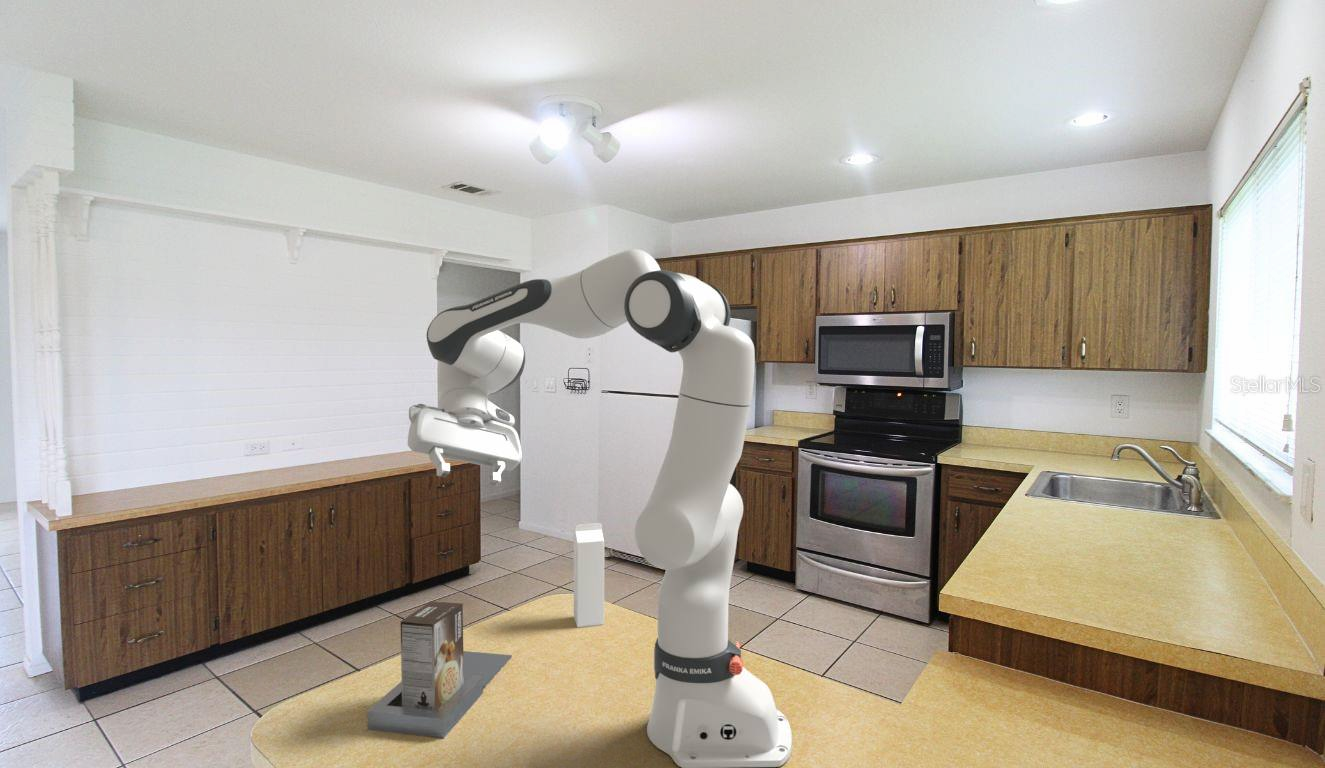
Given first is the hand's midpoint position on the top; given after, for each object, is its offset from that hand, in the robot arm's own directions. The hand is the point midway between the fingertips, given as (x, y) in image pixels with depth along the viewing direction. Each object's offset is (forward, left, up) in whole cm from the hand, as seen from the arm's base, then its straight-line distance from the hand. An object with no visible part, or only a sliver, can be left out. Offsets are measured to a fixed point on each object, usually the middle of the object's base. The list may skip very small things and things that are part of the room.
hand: (469, 479), depth 106 cm
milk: (-10, -36, -38) cm, 53 cm away
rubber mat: (+6, -10, -38) cm, 40 cm away
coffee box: (+6, +2, -38) cm, 39 cm away
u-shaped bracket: (+6, +4, -38) cm, 39 cm away
